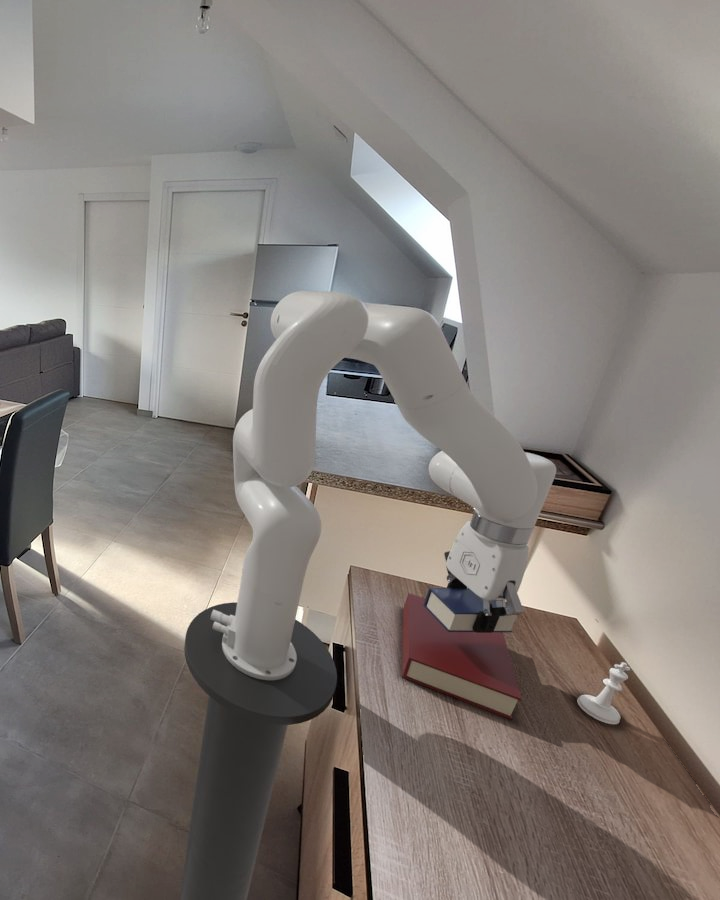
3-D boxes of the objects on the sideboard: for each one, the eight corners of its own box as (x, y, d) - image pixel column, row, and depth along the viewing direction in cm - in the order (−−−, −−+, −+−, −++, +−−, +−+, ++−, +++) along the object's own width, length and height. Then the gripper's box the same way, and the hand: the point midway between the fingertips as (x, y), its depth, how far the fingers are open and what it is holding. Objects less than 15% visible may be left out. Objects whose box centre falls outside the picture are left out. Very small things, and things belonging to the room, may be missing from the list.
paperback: (448, 631, 76) (455, 612, 75) (423, 605, 82) (429, 587, 81) (511, 632, 76) (519, 613, 75) (482, 606, 82) (489, 588, 81)
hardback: (512, 720, 71) (522, 699, 69) (402, 677, 78) (409, 657, 76) (492, 640, 87) (499, 621, 85) (402, 610, 94) (408, 592, 92)
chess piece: (627, 728, 70) (657, 680, 67) (588, 719, 71) (615, 671, 68) (606, 702, 75) (632, 655, 71) (570, 693, 76) (594, 647, 72)
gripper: (440, 501, 81) (414, 584, 87) (523, 558, 64) (483, 654, 71) (481, 502, 81) (452, 584, 87) (574, 558, 65) (530, 655, 71)
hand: (466, 615), depth 79 cm, fingers closed on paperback, 6 cm apart
